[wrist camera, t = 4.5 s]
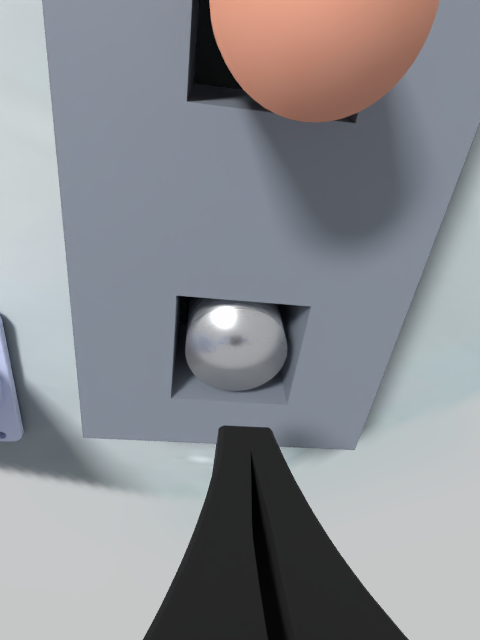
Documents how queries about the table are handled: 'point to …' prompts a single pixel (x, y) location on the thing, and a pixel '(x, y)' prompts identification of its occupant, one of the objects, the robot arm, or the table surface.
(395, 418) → the table surface
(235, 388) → the steel plug
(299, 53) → the terracotta plug
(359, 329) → the plug panel
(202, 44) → the table surface
